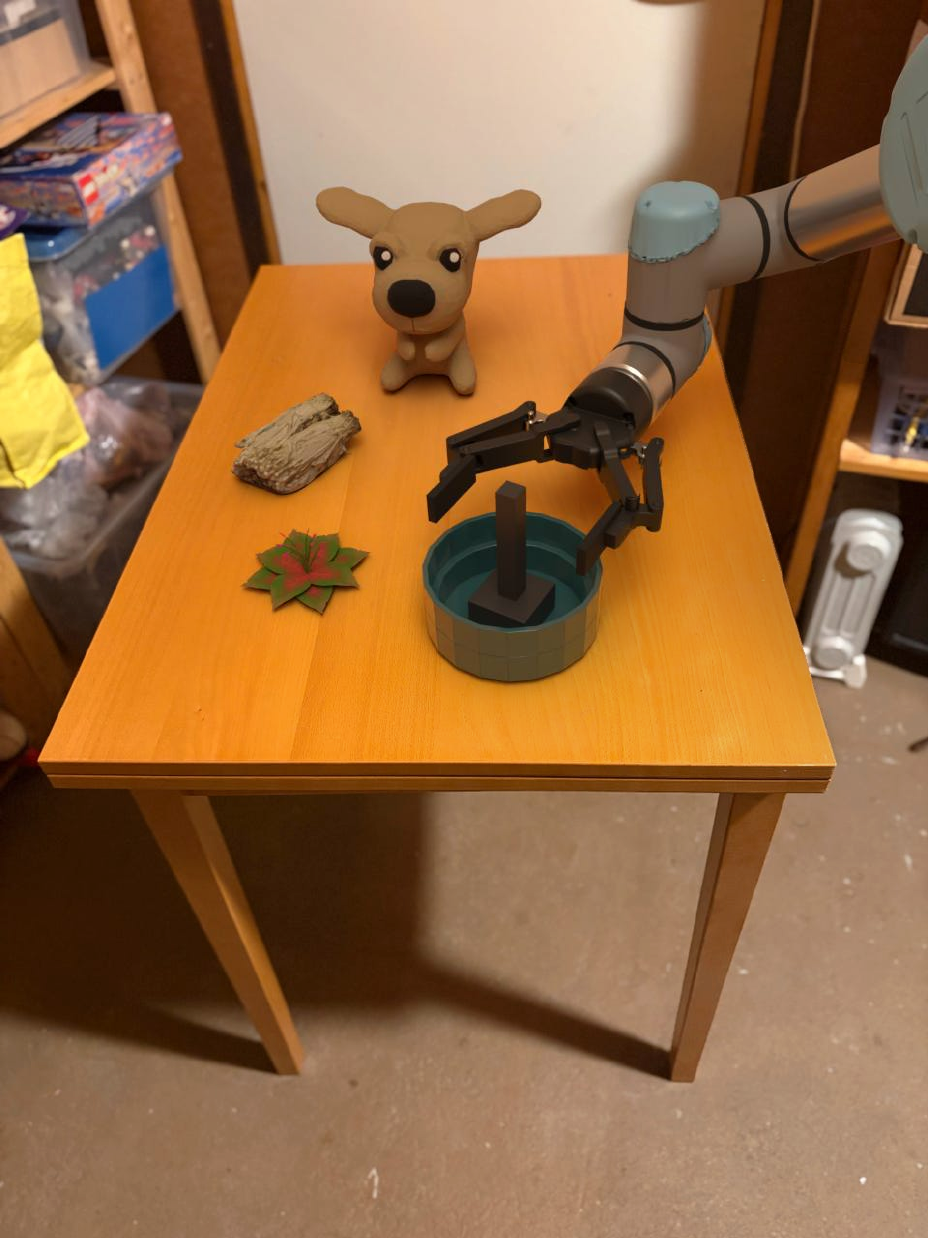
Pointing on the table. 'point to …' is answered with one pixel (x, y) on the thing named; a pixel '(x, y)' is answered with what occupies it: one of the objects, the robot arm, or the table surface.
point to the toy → (426, 273)
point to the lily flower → (305, 569)
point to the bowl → (523, 650)
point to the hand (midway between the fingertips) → (502, 535)
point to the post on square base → (511, 571)
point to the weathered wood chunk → (296, 445)
